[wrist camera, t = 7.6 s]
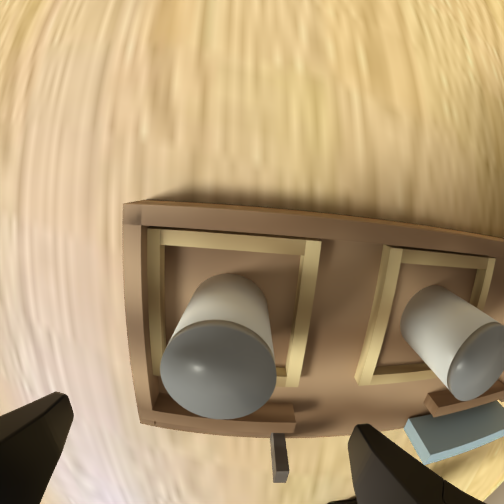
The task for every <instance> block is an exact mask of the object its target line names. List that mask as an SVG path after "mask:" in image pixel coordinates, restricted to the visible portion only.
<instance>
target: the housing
mask: <svg viewBox="0 0 504 504" xmlns="http://www.w3.org/2000/svg"><path fill="white" fill-rule="evenodd" d="M219 274H237V275H240V276H243V277H246V278H248V279H249V280H251V281H252V282H254V283H255V284H256V285H257V286H258V287H259V288H260V289H261V291H262V292H263V294H264V296H265V298H266V301H267V306H268V313H269V321H270V328H271V335H272V343H273V350H274V358H275V365H276V374H277V380H276V386H275V389H274V392H273V394H272V395H271V397H270V399H269V400H268V401H267V402H266V403H265V404H264V405H263V406H262V407H261V408H259V409H258V410H256V411H255V412H253V413H251V414H249V415H246V416H243V417H239V418H235V419H212V418H207V417H203V416H200V415H197V414H194V413H192V412H190V411H188V410H187V409H185V408H183V407H182V406H181V405H179V404H178V403H177V402H176V401H175V400H174V399H173V398H172V397H171V396H170V395H169V393H168V392H167V390H166V388H165V386H164V384H163V382H162V379H161V373H160V364H161V359H162V356H163V353H164V351H165V349H166V347H167V345H168V343H169V341H170V339H171V337H172V335H173V333H174V331H175V329H176V327H177V325H178V323H179V321H180V319H181V317H182V315H183V313H184V311H185V309H186V308H187V306H188V304H189V302H190V300H191V298H192V296H193V294H194V292H195V290H196V289H197V288H198V286H199V285H200V284H201V283H202V282H204V281H205V280H206V279H208V278H210V277H212V276H215V275H219ZM123 280H124V299H125V313H126V325H127V336H128V345H129V354H130V362H131V370H132V377H133V384H134V390H135V396H136V402H137V408H138V413H139V418H140V423H141V424H146V425H151V426H156V427H161V428H167V429H173V430H180V431H187V432H195V433H203V434H213V435H224V436H237V437H256V438H270V443H271V456H272V470H273V483H286V481H287V477H288V474H289V465H288V457H287V449H286V441H285V438H312V437H331V436H344V435H351V434H352V432H353V429H354V427H355V426H356V425H357V424H364V423H368V424H370V425H372V426H373V427H374V428H376V429H377V430H378V431H379V432H380V431H387V430H394V429H400V428H404V427H405V425H406V423H407V421H408V419H409V418H414V417H420V416H425V415H430V414H432V416H433V417H438V416H442V415H447V414H451V413H455V412H459V411H462V410H466V409H470V408H473V407H477V406H480V405H483V404H487V403H490V402H493V401H496V400H500V401H501V402H503V401H504V371H503V372H502V374H501V375H500V377H499V378H498V379H497V381H496V382H495V383H494V384H493V385H492V386H491V387H490V388H489V389H488V390H487V391H486V392H484V393H483V394H482V395H480V396H478V397H477V398H474V399H472V400H469V401H460V400H458V399H457V398H455V396H454V395H453V394H452V393H451V392H450V391H449V389H448V388H447V387H446V386H445V385H444V384H443V382H442V381H441V380H440V379H439V378H438V377H437V375H436V374H435V373H434V372H433V371H432V370H431V369H430V368H429V366H428V365H427V364H426V363H425V362H424V361H423V360H422V358H421V357H420V356H419V355H418V354H417V353H416V352H415V351H414V350H413V348H412V347H411V346H410V345H409V344H408V343H407V342H406V341H405V340H404V338H403V336H402V334H401V330H400V322H401V317H402V313H403V311H404V309H405V307H406V305H407V303H408V302H409V300H410V299H411V298H412V297H413V296H414V295H415V294H416V293H417V292H418V291H420V290H421V289H423V288H425V287H428V286H432V285H438V286H442V287H444V288H445V289H447V290H449V291H450V292H452V293H454V294H455V295H457V296H459V297H460V298H462V299H463V300H465V301H467V302H468V303H470V304H471V305H473V306H475V307H476V308H478V309H479V310H481V311H482V312H484V313H485V314H487V315H489V316H490V317H492V318H493V319H495V320H496V321H498V322H499V323H501V324H502V325H504V238H499V237H493V236H487V235H482V234H476V233H470V232H464V231H458V230H451V229H445V228H439V227H432V226H425V225H418V224H411V223H404V222H396V221H389V220H381V219H373V218H365V217H356V216H348V215H339V214H330V213H320V212H310V211H300V210H289V209H278V208H266V207H254V206H241V205H227V204H212V203H196V202H177V201H156V200H142V201H136V202H130V203H125V204H123Z"/></svg>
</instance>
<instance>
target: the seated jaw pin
mask: <svg viewBox="0 0 504 504" xmlns="http://www.w3.org/2000/svg"><path fill="white" fill-rule="evenodd" d="M400 330H401V334H402V336H403V338H404V340H405V341H406V342H407V343H408V344H409V345H410V346H411V347H412V348H413V350H414V351H415V352H416V353H417V354H418V355H419V356H420V357H421V358H422V360H423V361H424V362H425V363H426V364H427V365H428V366H429V368H430V369H431V370H432V371H433V372H434V373H435V374H436V375H437V377H438V378H439V379H440V380H441V381H442V382H443V384H444V385H445V386H446V387H447V388H448V389H449V391H450V392H451V393H452V394H453V395H454V396H455V398H457V399H458V400H460V401H469V400H472V399H474V398H477V397H478V396H480V395H482V394H483V393H484V392H486V391H487V390H488V389H489V388H490V387H491V386H492V385H493V384H494V383H495V382H496V381H497V379H498V378H499V377H500V375H501V374H502V372H503V371H504V325H502V324H501V323H499V322H498V321H496V320H495V319H493V318H492V317H490V316H489V315H487V314H485V313H484V312H482V311H481V310H479V309H478V308H476V307H475V306H473V305H471V304H470V303H468V302H467V301H465V300H463V299H462V298H460V297H459V296H457V295H455V294H454V293H452V292H450V291H449V290H447V289H445V288H444V287H442V286H438V285H432V286H428V287H425V288H423V289H421V290H420V291H418V292H417V293H416V294H415V295H414V296H413V297H412V298H411V299H410V300H409V302H408V303H407V305H406V307H405V309H404V311H403V313H402V317H401V322H400Z"/></svg>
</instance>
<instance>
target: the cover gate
mask: <svg viewBox="0 0 504 504" xmlns="http://www.w3.org/2000/svg"><path fill="white" fill-rule="evenodd" d="M404 430H405V432H406V434H407V436H408V437H409V439H410V441H411V443H412V445H413V446H414V448H415V450H416V452H417V454H418V456H419V457H420V459H421V461H422V463H423V465H426V464H430V463H433V462H437V461H440V460H443V459H446V458H449V457H452V456H455V455H458V454H461V453H464V452H467V451H469V450H472V449H475V448H477V447H480V446H482V445H485V444H487V443H489V442H492V441H494V440H496V439H499V438H501V437H503V436H504V408H503V407H502V405H501V404H500V403H499V402H498V401H497V400H496V401H493V402H490V403H487V404H483V405H480V406H477V407H473V408H470V409H466V410H462V411H459V412H455V413H451V414H447V415H442V416H438V417H433V416H432V414H430V415H425V416H420V417H414V418H409V419H408V421H407V423H406V425H405V427H404Z"/></svg>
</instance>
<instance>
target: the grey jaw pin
mask: <svg viewBox="0 0 504 504" xmlns="http://www.w3.org/2000/svg"><path fill="white" fill-rule="evenodd" d="M160 373H161V379H162V382H163V384H164V386H165V388H166V390H167V392H168V393H169V395H170V396H171V397H172V398H173V399H174V400H175V401H176V402H177V403H178V404H179V405H181V406H182V407H183V408H185V409H187V410H188V411H190V412H192V413H194V414H197V415H200V416H203V417H207V418H212V419H235V418H239V417H243V416H246V415H249V414H251V413H253V412H255V411H256V410H258V409H259V408H261V407H262V406H263V405H264V404H265V403H266V402H267V401H268V400H269V399H270V397H271V395H272V394H273V392H274V389H275V386H276V380H277V374H276V365H275V358H274V350H273V343H272V335H271V328H270V321H269V313H268V306H267V301H266V298H265V296H264V294H263V292H262V291H261V289H260V288H259V287H258V286H257V285H256V284H255V283H254V282H252V281H251V280H249V279H248V278H246V277H243V276H240V275H237V274H219V275H215V276H212V277H210V278H208V279H206V280H205V281H204V282H202V283H201V284H200V285H199V286H198V288H197V289H196V290H195V292H194V294H193V296H192V298H191V300H190V302H189V304H188V306H187V308H186V309H185V311H184V313H183V315H182V317H181V319H180V321H179V323H178V325H177V327H176V329H175V331H174V333H173V335H172V337H171V339H170V341H169V343H168V345H167V347H166V349H165V351H164V353H163V356H162V359H161V364H160Z"/></svg>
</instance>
